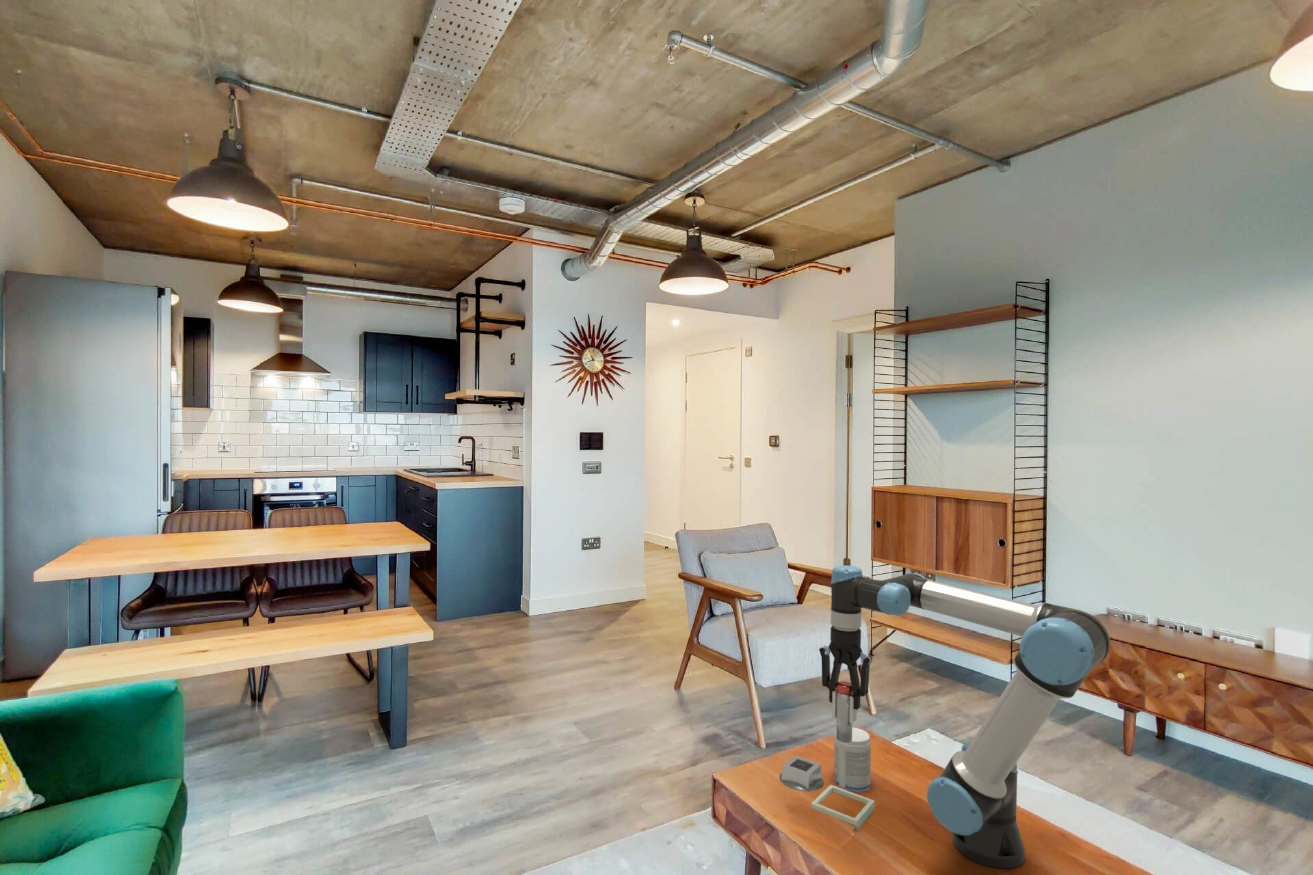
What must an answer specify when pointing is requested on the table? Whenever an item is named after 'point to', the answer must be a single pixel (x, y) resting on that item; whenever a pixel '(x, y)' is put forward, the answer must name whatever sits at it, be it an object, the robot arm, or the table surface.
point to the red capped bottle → (843, 712)
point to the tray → (857, 821)
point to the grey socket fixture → (801, 774)
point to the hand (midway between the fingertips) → (844, 718)
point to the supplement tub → (853, 761)
